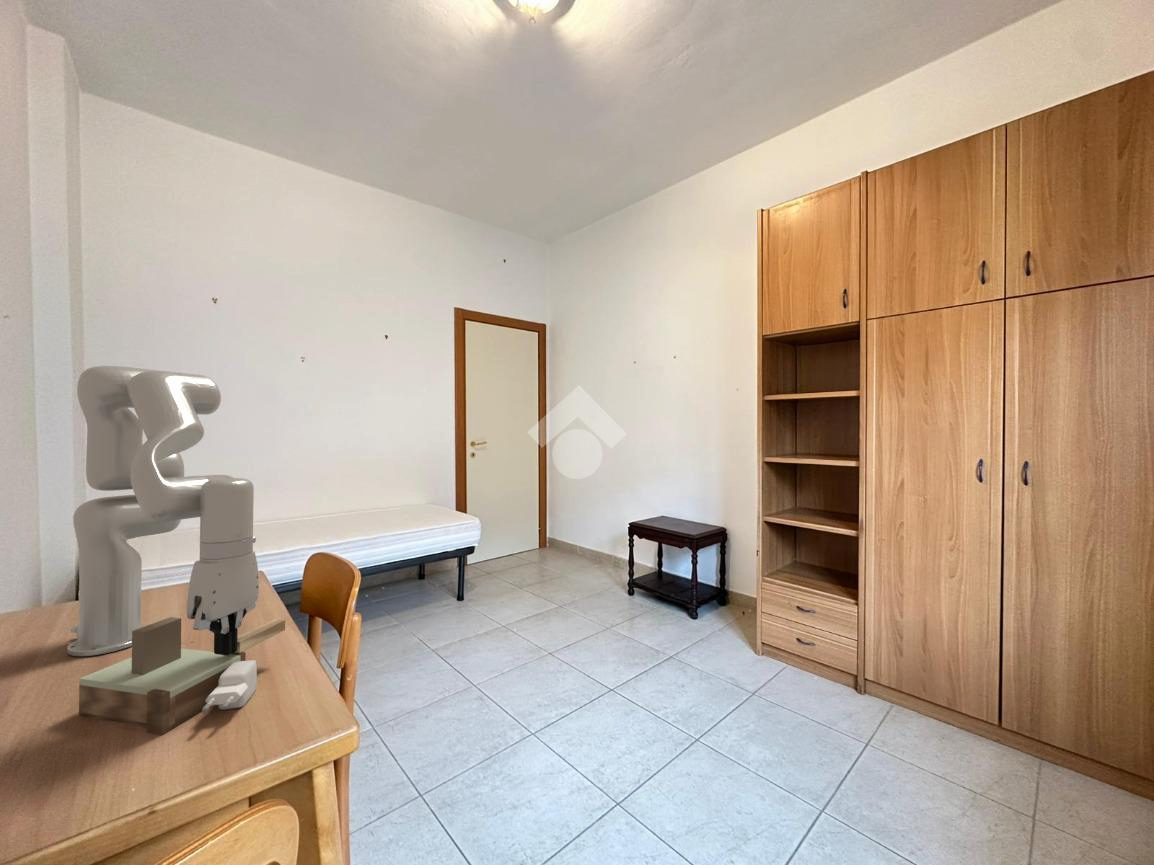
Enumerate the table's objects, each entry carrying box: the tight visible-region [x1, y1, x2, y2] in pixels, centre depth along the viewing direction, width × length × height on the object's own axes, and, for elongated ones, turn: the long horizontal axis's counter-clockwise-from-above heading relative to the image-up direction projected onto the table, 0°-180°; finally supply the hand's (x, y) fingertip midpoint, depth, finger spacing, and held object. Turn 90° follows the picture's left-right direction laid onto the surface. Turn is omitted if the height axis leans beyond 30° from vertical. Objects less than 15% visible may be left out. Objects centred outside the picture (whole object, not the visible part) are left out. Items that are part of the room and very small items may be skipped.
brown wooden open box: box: [78, 651, 247, 736], centre depth 79 cm, size 18×14×6 cm
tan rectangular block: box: [235, 618, 286, 653], centre depth 88 cm, size 2×10×2 cm, turn 169°
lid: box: [78, 616, 241, 698], centre depth 79 cm, size 18×12×8 cm, turn 79°
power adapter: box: [202, 659, 258, 713], centre depth 77 cm, size 11×5×6 cm, turn 14°
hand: (225, 652), depth 82 cm, fingers closed
